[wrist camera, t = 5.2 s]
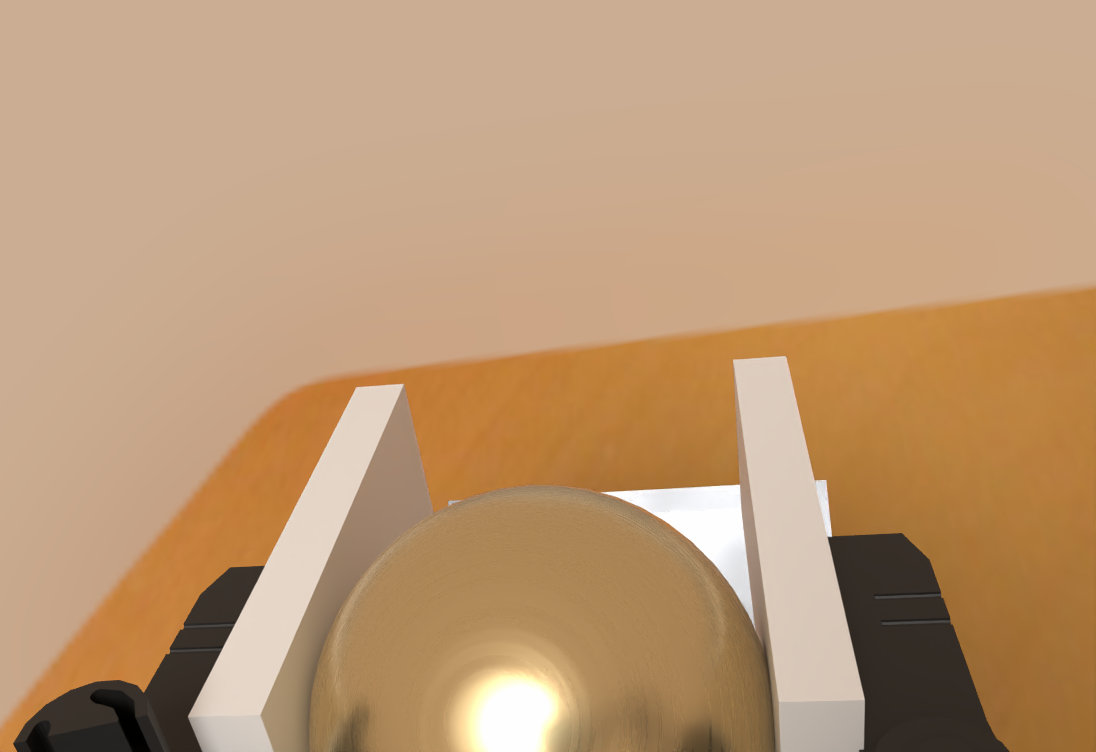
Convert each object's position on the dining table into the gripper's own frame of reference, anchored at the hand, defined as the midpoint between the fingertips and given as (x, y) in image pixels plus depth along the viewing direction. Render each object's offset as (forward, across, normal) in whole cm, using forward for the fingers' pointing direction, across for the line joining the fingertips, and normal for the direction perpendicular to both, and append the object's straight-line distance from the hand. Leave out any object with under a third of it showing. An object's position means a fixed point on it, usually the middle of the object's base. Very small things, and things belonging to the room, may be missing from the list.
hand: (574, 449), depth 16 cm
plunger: (+8, 0, -14) cm, 16 cm away
